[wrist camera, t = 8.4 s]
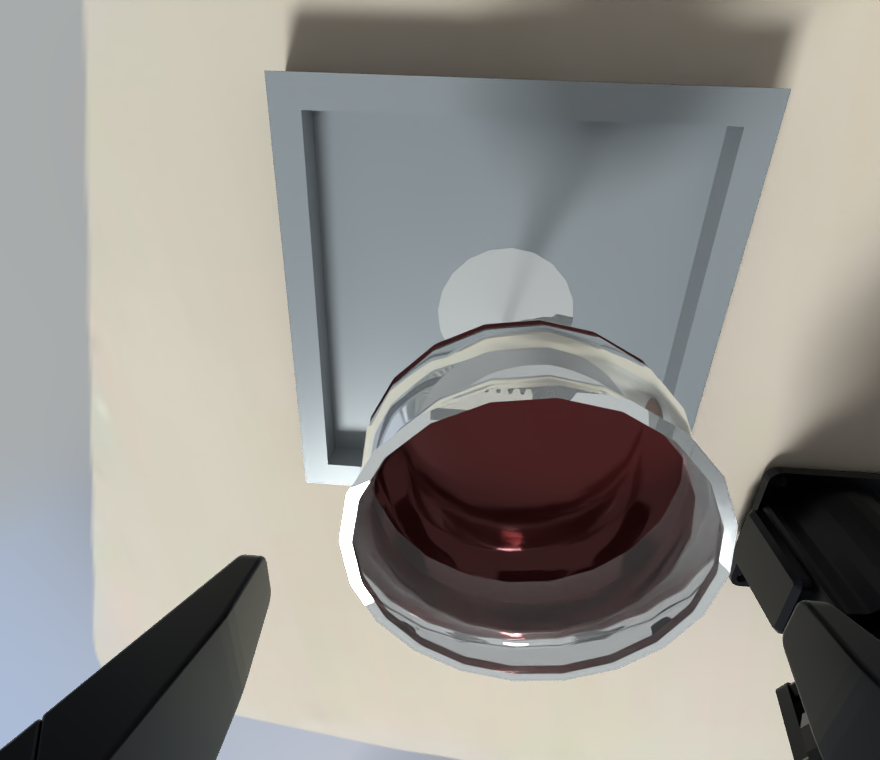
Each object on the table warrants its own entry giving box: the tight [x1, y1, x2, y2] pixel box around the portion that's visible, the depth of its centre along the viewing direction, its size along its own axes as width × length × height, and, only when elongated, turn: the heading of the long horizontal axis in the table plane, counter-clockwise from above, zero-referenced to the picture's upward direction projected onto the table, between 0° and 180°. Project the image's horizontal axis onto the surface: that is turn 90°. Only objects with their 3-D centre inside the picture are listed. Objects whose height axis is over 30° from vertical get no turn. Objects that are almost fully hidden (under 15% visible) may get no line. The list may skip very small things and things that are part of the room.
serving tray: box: [265, 71, 791, 486], centre depth 20 cm, size 15×15×2 cm
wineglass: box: [339, 248, 738, 681], centre depth 15 cm, size 7×7×12 cm
